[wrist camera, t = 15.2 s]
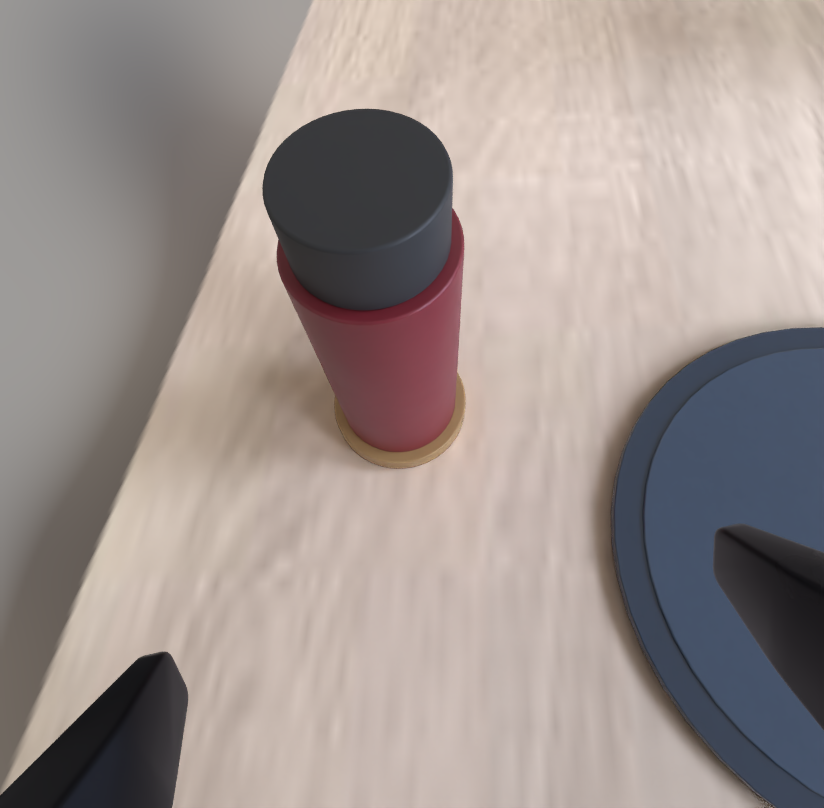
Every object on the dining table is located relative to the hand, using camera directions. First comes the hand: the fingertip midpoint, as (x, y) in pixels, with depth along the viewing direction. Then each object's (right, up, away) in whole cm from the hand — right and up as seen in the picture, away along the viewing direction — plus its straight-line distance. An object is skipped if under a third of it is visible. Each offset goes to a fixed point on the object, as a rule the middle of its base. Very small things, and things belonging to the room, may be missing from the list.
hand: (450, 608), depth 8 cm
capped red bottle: (-1, +3, +13) cm, 13 cm away
